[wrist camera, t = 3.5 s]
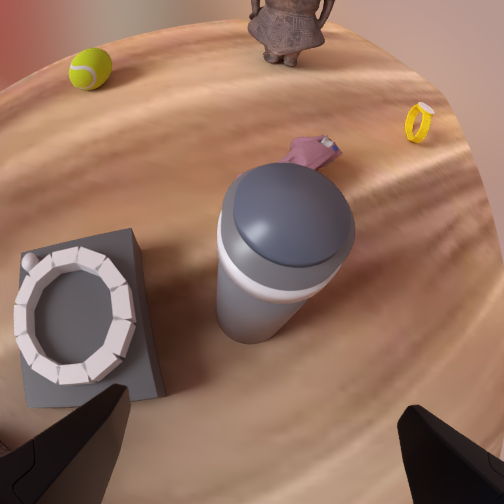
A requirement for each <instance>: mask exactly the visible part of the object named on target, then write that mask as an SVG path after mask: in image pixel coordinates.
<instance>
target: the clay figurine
mask: <svg viewBox="0 0 504 504" xmlns="http://www.w3.org/2000/svg"><path fill="white" fill-rule="evenodd" d="M320 1H321V0H265V3H266V4H265V6H263V7H261V8H260V0H251V4H252V11H253V12H252V13H251V14H250V16H249V18H250V19H251V21H250V22H249V24H248V31H249V33H250V34H251V35H252V36H253V37H254V38H255V39H256V40H258V41H259V42H260V43H261V44H263V45H264V46H265V51H266V52H264V53H263V55H264V58H265V60H266V61H268V62H270V63H275V62H278V61H279V55H281V56H282V58H283V59H284V64H285V65H289V66H295V65H296V64H297V57H298V56H299V54H300V52H301V51H303V50H306V49H310V48H315V47H319V46H321V45H323V44H324V42H325V39H324V37H323V34H322V33H321V30H320V29H321V28H322V27H323V25H324V24H325V22H326V20H327V19H328V17H329V15H330V12H331V10H332V7H333V4H334V1H335V0H324V5H323V10H322V12H321V15H320V18H319V19H317V18H316V15H315V12H316V11H317V10H318V8H319V4H320Z"/></svg>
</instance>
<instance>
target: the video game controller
mask: <svg viewBox="0 0 504 504" xmlns="http://www.w3.org/2000/svg"><path fill="white" fill-rule="evenodd" d="M290 147H291V151H290V152H289V154H288V155H287V156H285V157H284V158H283V159H281V160H280V161H278V162H277V163H294V164H299V165H302V166H306V167H308V168H311V169H313V170H315V171H317V170H318V169H320V168H322V167H325V166H327V165H328V164H330V163H331V162H333V161H334V159H336V158H337V157H338V156H340V155H341V154H342V152H341V151H340V149H339V148H338V147H337V145H336V144H335V142H333V141H332V140H331V139H329V138H328V136H324V135H321V136H317V137H298V138H296V139H294V140H292V142H291V144H290ZM244 173H245V172H244ZM242 174H243V173H241V174H239V175H238V176H237V177H236V179H237V178H238V177H239V176H241V175H242Z"/></svg>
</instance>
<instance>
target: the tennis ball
mask: <svg viewBox="0 0 504 504" xmlns="http://www.w3.org/2000/svg"><path fill="white" fill-rule="evenodd" d="M111 71H112V60H111V58H110V56H109V54H108V53H107V52H106V51H104V50H102V49H99V48H90V49H86V50H84V51H82V52H80V53H79V54H78V55H77V56H76V57H75V58H74V59H73V61H72V63H71V65H70V68H69V78H70V80H71V82H72V84H73V85H74V86H75V87H77V88H79V89H81V90H92V89H96V88H98V87H99V86H101V85H102V84H104V83H105V81H106V80H107V79H108V78H109V76H110V74H111Z"/></svg>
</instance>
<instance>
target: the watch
mask: <svg viewBox="0 0 504 504" xmlns="http://www.w3.org/2000/svg"><path fill="white" fill-rule="evenodd" d="M419 112H422V122H421V126H420V129H419V130H418V132H417V134H416V135H415V136H414V135H413V132H412V130H413V124H414V121H415V118H416V116H417V115H418V113H419ZM433 115H434V111H433V110H432V109H431V108H430V107H429V106H428V105H426V104H424V103H422V102H418V104H416V105H414V106H413V107H412V108H411V110H410V111H409V114H408V115H407V118H406V121H405V132H406V135H407V138H408V140H409V141H411V142H414V143H420V142H421V141H422V140H424V138H425V137H426V135H427V133H428V131H429V128H430V123H431V117H433Z"/></svg>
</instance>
